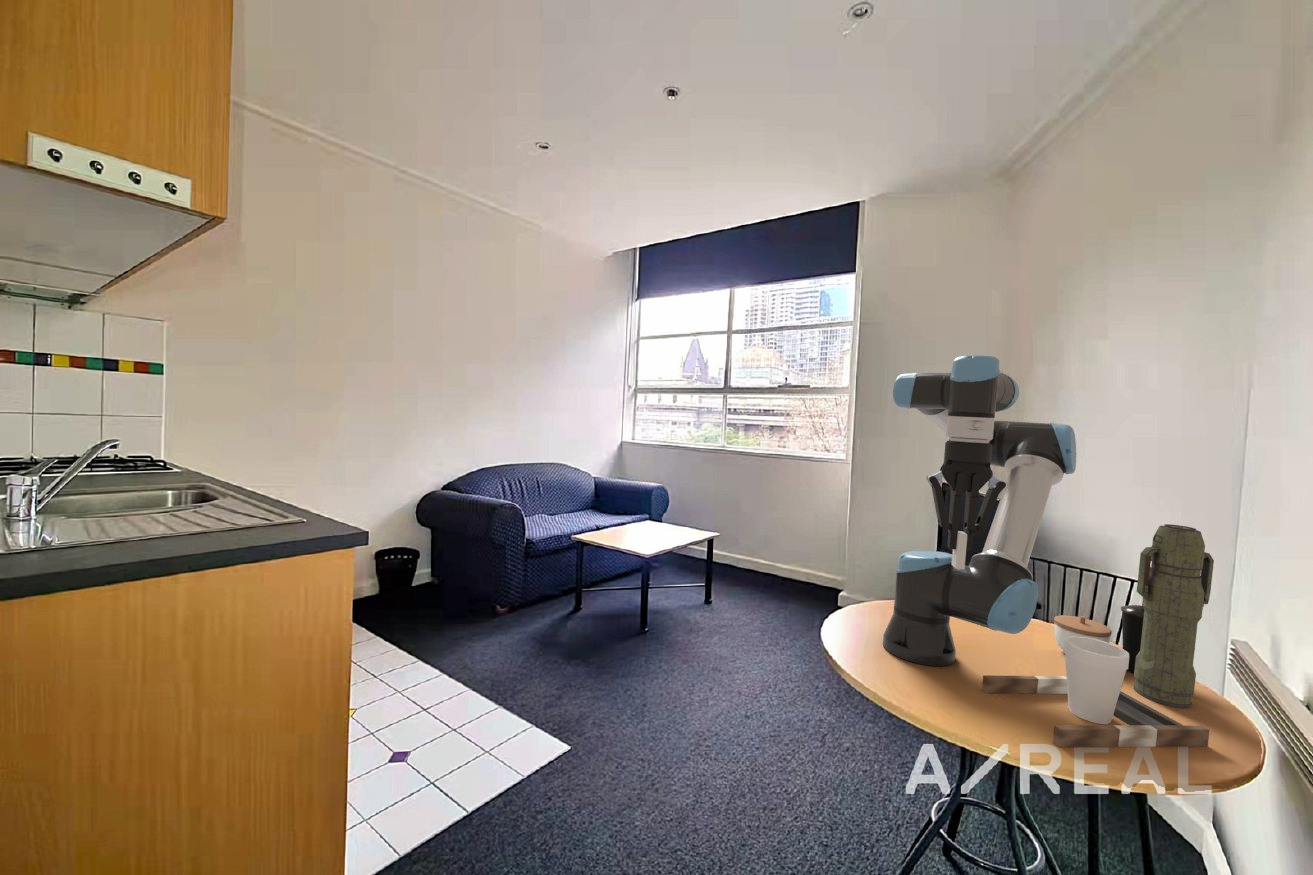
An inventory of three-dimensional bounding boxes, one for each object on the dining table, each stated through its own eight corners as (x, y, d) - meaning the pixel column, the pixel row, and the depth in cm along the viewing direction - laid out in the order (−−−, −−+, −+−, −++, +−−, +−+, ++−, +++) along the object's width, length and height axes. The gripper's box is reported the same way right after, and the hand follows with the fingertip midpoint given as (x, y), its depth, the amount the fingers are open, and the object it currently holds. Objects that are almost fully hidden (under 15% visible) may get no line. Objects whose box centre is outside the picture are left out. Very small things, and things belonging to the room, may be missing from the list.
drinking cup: (1107, 666, 124) (1116, 579, 123) (1126, 661, 127) (1135, 577, 126) (1148, 682, 117) (1158, 590, 116) (1167, 677, 120) (1177, 588, 119)
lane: (1058, 747, 90) (1060, 729, 90) (981, 689, 109) (983, 675, 108) (1207, 746, 93) (1209, 729, 93) (1108, 691, 111) (1109, 676, 111)
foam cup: (1104, 733, 95) (1111, 661, 95) (1047, 706, 104) (1054, 639, 103) (1132, 722, 100) (1140, 653, 99) (1076, 697, 108) (1082, 633, 107)
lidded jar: (1087, 648, 134) (1091, 610, 133) (1120, 668, 123) (1124, 627, 122) (1041, 643, 135) (1045, 606, 134) (1069, 663, 124) (1073, 623, 123)
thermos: (1114, 682, 115) (1130, 520, 114) (1172, 688, 115) (1190, 524, 113) (1149, 705, 107) (1167, 529, 105) (1212, 710, 106) (1232, 533, 104)
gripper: (935, 439, 98) (924, 568, 99) (1016, 444, 94) (1004, 577, 96) (925, 437, 105) (915, 557, 106) (1001, 442, 102) (990, 566, 103)
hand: (957, 566), depth 101 cm, fingers closed
